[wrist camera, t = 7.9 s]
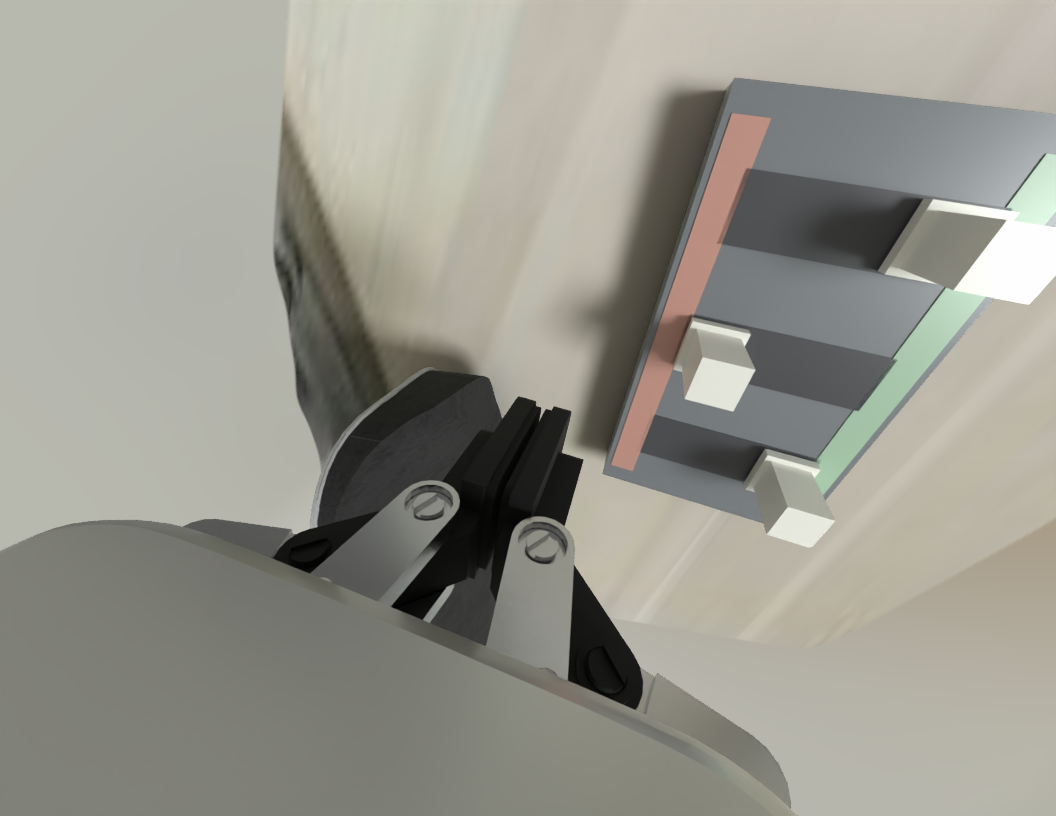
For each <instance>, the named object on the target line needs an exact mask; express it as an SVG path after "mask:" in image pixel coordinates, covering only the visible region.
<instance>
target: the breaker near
mask: <svg viewBox="0 0 1056 816" xmlns="http://www.w3.org/2000/svg"><path fill="white" fill-rule="evenodd" d="M1019 213H1020V212H1013V211H1007V210H1000V209H994V208H987V207H981V206H974V205H968V204H961V203H955V202H948V201H942V200H935V199H926V198H924V199H923V200H922V202H921V203H920V205H919V207H918V208H917V210H916V211H915V213H914V215H913V216H912V218H911V219H910V221H909V222H908V224H907V226H906V227H905V229H904V230H903V232H902V233H901V235H900V237H899V238H898V240H897V241H896V243H895V244H894V246H893V248H892V249H891V251H890V252H889V254H888V256H887V257H886V259H885V260H884V262H883V263H882V265H881V267H880V268H879V270H878V272H881V273H883V274H885V275H891V276H896V277H901V278H906V279H912V280H917V281H922V282H928V283H933V284H938V285H941V286H944V287H946V288H949V289H951V290H954V291H959V292H965V293H970V294H975V295H980V296H986V297H991V298H996V299H1002V300H1007V301H1012V302H1017V303H1023V304H1028V305H1029V304H1030V303H1031V302H1032V301H1033V300H1034V299H1035V298H1036V296H1037V295H1038V294H1039V293H1040V292H1041V291H1042V290H1043V289H1044V287H1045V286H1046V285H1047V284H1048V283H1049V282H1050V281H1051V280H1052V279H1053V277H1054V276H1055V275H1056V227H1050V226H1043V225H1037V224H1030V223H1024V222H1018V221H1014V220H1015V218H1016V217H1017V216H1018V215H1019Z"/></svg>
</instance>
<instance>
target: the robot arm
mask: <svg viewBox="0 0 1056 816" xmlns="http://www.w3.org/2000/svg"><path fill="white" fill-rule="evenodd" d="M540 413H541V407H537V406H536V401H533V400H530V399H526V398H523V397H517V399H516V400H515V402H514V403H513V405H512V406H511V408H510V409H509V410H508V412H507V413H506V415H505V416H504V418H503V419H502V421H501V422H500V424H499V425H498V427H497V428H496V429H495V431H494V432H491V431H488V430H484V429H482V430H480V431H479V432H478V433H477V435H476V436H475V437H474V439H473V440H472V441H471V443H470V444H469V445H468V447H467V448H466V450H465V451H464V452H463V454H462V455H461V456H460V458H459V459H458V460H457V462H456V463H455V464H454V466H453V467H452V468H451V470H450V471H449V472H448V474H447V475H446V476H445V478H444V479H443V480H442V482H441V481H433V480H428V481H421V482H418V483H415V484H413V485H411V486H409V487H408V488H406V489H405V490H404V491H403V492H402V493H400V494H399V495H398V496H397V497H396V498H395V499H394V500H393V501H391V502H390V503H389V504H388V505H387V506H386V507H385V508H384V509H382V510H381V511H377V512H373V513H369V514H365V515H361V516H358V517H354V518H350V519H346V520H342V521H339V522H335V523H331V524H327V525H323V526H319V527H316V528H312V529H308V530H306V531H303V532H300V533H298V534H293V533H292V530H291V529H285V528H277V527H270V526H262V525H255V524H248V523H241V522H234V521H226V520H219V519H204V520H200V521H196V522H192V523H190V524H188V525H186V526H183V527H181V526H177V525H172V524H167V523H159V522H152V521H142V520H100V521H89V522H81V523H74V524H69V525H65V526H61V527H57V528H54V529H51V530H48V531H45V532H43V533H40V534H37V535H35V536H33V537H31V538H28V539H26V540H23V541H21V542H19V543H17V544H14V545H12V546H10V547H8V548H6V549H4V550H2V551H0V816H797V815H796V814H795V813H794V812H793V811H792V810H791V801H790V795H789V789H788V784H787V781H786V779H785V777H784V775H783V772H782V770H781V768H780V766H779V764H778V762H777V761H776V760H775V758H774V757H773V756H772V754H771V753H770V751H769V750H768V749H767V748H766V747H765V746H764V745H763V744H762V743H760V742H759V741H758V740H757V739H756V738H755V737H754V736H752V735H751V734H749V733H748V732H746V731H745V730H743V729H742V728H740V727H738V726H737V725H736V724H734V723H733V722H731V721H729V720H728V719H726V718H725V717H723V716H722V715H720V714H719V713H717V712H716V711H714V710H713V709H711V708H710V707H708V706H707V705H705V704H704V703H702V702H701V701H699V700H698V699H696V698H694V697H693V696H691V695H690V694H688V693H687V692H685V691H684V690H682V689H681V688H679V687H678V686H676V685H674V684H673V683H672V682H670V681H669V680H667V679H666V678H664V677H663V676H661V675H659V674H658V673H657V674H656V676H655V677H654V676H652V675H651V674H649V673H648V672H646V671H645V670H643V669H642V668H640V666H639V664H638V662H637V660H636V659H635V657H634V655H633V653H632V652H631V650H630V648H629V647H628V645H627V644H626V642H625V641H624V639H623V638H622V637H621V635H620V634H619V632H618V630H617V629H616V627H615V626H614V624H613V623H612V621H611V620H610V618H609V617H608V615H607V614H606V612H605V611H604V609H603V608H602V606H601V605H600V603H599V602H598V600H597V599H596V597H595V596H594V594H593V593H592V591H591V590H590V588H589V587H588V585H587V584H586V582H585V581H584V579H583V577H582V576H581V574H580V573H579V571H578V570H577V568H576V567H575V565H574V554H575V547H574V540H573V538H572V536H571V534H570V532H569V531H568V530H567V529H566V528H565V527H564V526H565V523H566V519H567V516H568V512H569V509H570V505H571V502H572V498H573V495H574V491H575V488H576V484H577V481H578V477H579V474H580V470H581V467H582V463H583V459H580V458H576V457H573V456H570V455H567V454H563V453H562V449H563V445H564V441H565V437H566V433H567V429H568V425H569V421H570V416H571V411H569V410H565V409H562V408H558V407H555V406H554V407H553V409H552V411H551V410H548V409H546V410H545V412H544V413H543V415H542V417H541V419H540ZM539 419H540V421H539ZM492 556H493V561H492V568H491V572H492V576H491V583H490V590H491V592H492V595H493V597H494V599H495V601H496V605H495V609H494V614H493V618H492V622H491V627H490V631H489V635H488V640H487V644H486V646H484V645H481V644H479V643H477V642H474V641H472V640H469V639H467V638H465V637H462V636H460V635H457V634H455V633H453V632H450V631H448V630H445V629H443V628H440V627H438V626H436V625H433V624H431V623H430V622H431V620H432V619H433V618H434V616H435V615H436V614H437V612H438V611H439V609H440V608H441V607H442V605H443V604H444V602H445V601H446V600H447V598H448V597H449V595H450V594H451V592H452V590H453V588H454V584H456V583H458V582H461V581H464V580H466V579H467V577H469V578H472V579H475V577H476V575H477V573H478V570H479V568H481V569H484V570H486V569H487V567H488V565H489V563H490V561H491V559H492Z"/></svg>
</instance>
